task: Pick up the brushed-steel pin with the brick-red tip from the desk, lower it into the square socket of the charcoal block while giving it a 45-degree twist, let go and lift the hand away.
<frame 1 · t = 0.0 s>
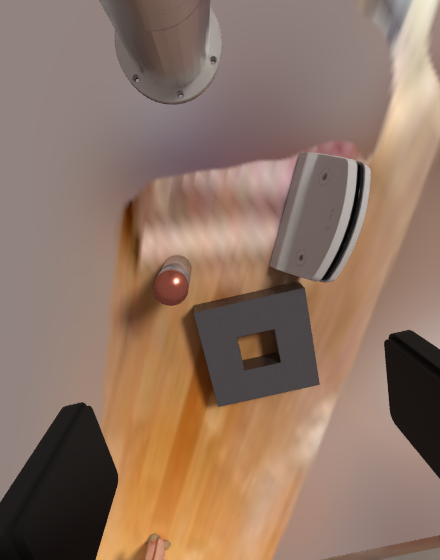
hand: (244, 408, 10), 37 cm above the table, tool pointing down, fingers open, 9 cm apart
socket block: (256, 341, 50), on the table
grey curved electronic device: (309, 217, 46), on the table
grandmother figurine: (156, 539, 60), on the table
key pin: (177, 268, 46), on the table
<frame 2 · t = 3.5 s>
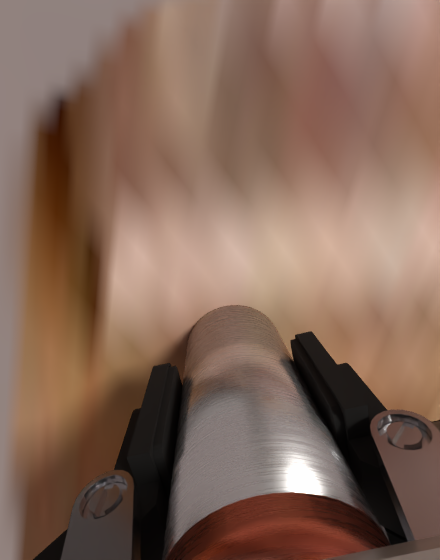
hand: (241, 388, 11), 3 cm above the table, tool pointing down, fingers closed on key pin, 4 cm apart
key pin: (234, 349, 14), on the table, touching gripper
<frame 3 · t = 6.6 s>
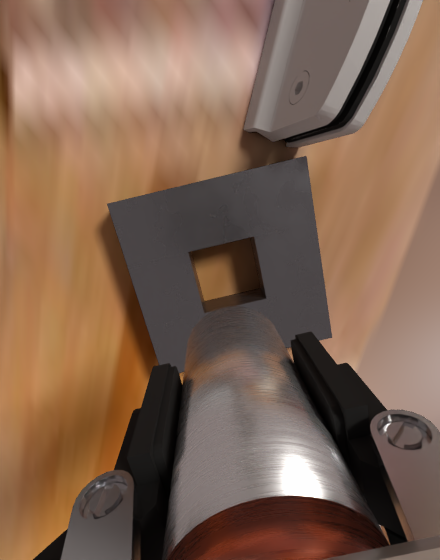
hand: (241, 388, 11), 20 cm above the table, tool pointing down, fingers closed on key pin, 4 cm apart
socket block: (226, 267, 30), on the table
grey curved electronic device: (314, 38, 26), on the table
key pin: (233, 350, 14), point 17 cm above the table, touching gripper
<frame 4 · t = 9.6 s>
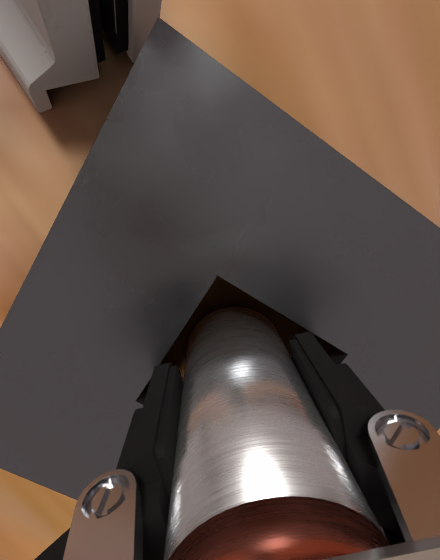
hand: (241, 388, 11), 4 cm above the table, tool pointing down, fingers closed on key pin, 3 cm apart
socket block: (234, 340, 14), on the table
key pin: (234, 350, 14), point 1 cm above the table, touching gripper
when the fingers open (4 cm above the table, at t = 9.7 s): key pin stays where it is, resting in socket block.
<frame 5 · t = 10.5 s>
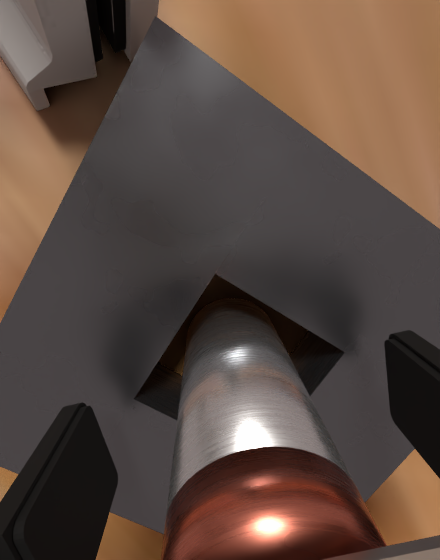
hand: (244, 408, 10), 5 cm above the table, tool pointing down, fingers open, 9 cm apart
socket block: (232, 339, 15), on the table
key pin: (231, 339, 15), resting in socket block
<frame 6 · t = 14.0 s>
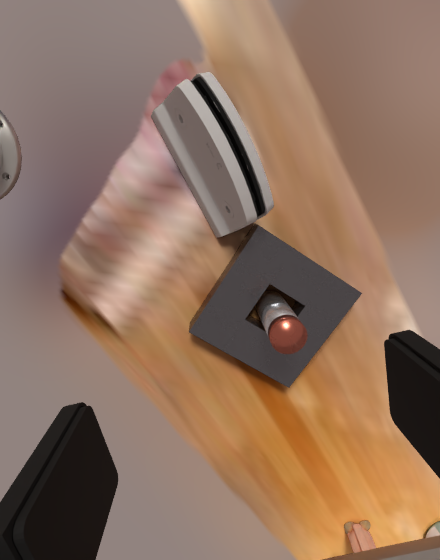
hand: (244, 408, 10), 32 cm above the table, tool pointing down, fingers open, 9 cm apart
socket block: (270, 304, 44), on the table
grey curved electronic device: (213, 164, 39), on the table
grandmother figurine: (353, 525, 56), on the table
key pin: (270, 304, 44), resting in socket block
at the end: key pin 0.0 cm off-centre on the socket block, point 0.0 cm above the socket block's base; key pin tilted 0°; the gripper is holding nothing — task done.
